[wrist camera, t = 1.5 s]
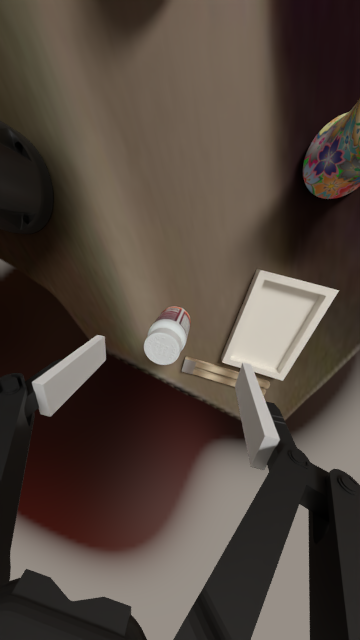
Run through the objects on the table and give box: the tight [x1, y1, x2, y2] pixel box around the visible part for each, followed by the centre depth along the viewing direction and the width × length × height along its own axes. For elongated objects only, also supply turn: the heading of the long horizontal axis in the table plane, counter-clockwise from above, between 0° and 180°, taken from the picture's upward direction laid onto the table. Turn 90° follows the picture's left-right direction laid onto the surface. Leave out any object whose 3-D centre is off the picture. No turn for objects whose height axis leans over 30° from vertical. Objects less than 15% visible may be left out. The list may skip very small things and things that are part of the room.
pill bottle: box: [144, 306, 191, 365], centre depth 29 cm, size 6×6×11 cm
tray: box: [221, 269, 339, 381], centre depth 30 cm, size 12×18×2 cm, turn 166°
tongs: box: [182, 356, 270, 396], centre depth 36 cm, size 18×3×1 cm, turn 76°
